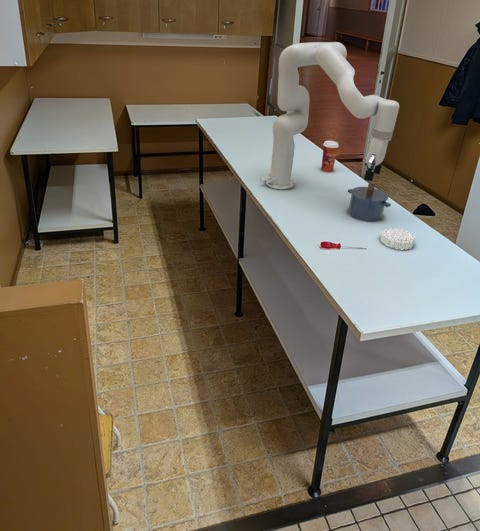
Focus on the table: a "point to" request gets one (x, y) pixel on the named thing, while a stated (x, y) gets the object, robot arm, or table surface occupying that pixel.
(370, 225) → the table surface
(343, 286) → the table surface
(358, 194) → the lid
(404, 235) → the mooncake
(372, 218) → the pot
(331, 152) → the paper cup
